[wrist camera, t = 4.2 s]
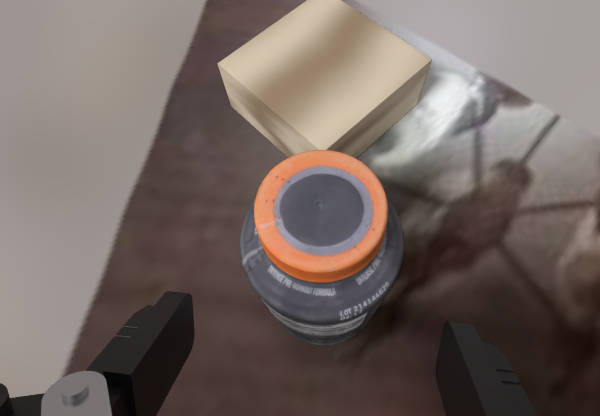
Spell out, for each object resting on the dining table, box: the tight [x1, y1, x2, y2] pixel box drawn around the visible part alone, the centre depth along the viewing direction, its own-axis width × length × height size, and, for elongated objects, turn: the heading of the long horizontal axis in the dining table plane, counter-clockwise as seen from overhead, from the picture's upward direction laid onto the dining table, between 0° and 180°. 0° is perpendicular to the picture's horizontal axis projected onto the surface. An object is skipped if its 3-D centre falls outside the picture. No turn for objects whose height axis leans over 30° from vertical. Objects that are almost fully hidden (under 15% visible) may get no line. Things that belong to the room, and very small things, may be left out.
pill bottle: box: [240, 150, 404, 345], centre depth 16 cm, size 6×6×11 cm
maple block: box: [218, 0, 432, 158], centre depth 25 cm, size 9×9×4 cm
